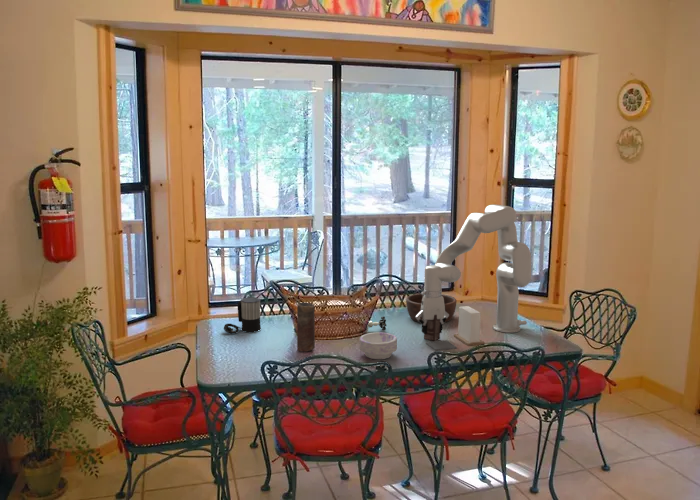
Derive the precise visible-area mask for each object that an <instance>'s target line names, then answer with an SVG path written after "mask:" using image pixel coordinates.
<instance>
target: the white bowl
mask: <svg viewBox="0 0 700 500" xmlns="http://www.w3.org/2000/svg"><path fill="white" fill-rule="evenodd" d="M397 349H398V338H397V336H396V335H395V334H392V333H387V332H381V331H379V332H367V333H365V334H363V335H361V336H360V337H359V350H360V351H361V352H363V353H364V355H365V356H366V357H367V358H368V359H371V360H386V359H389V358H391V356H392V354H393V353H395V352H396V351H397Z"/></svg>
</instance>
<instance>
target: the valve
mask: <svg viewBox="0 0 700 500" xmlns="http://www.w3.org/2000/svg"><path fill="white" fill-rule="evenodd" d="M386 321H387V319H386V317H385V316H381V318H380V320H379V321H372V320H368V322H369V323H368V325H367V331H369V328H372V327H373V326H375V327H376V326H379V327H380V328H381V330H382V331H386V330H387V328H386V327H387V322H386Z"/></svg>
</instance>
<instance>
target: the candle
mask: <svg viewBox="0 0 700 500" xmlns="http://www.w3.org/2000/svg"><path fill="white" fill-rule="evenodd" d="M296 306H297V307H296V308H297V314H296V315H297V317H296V319H297V326H296V327H297V328H296V329H297V333H296V335H297V338H296V339H297V341H296V342H297V343H296V345H297V346H296V347H297V351H298V352H305V353H306V352H311V351H314V349H315V347H316V344H315V343H316V342H315V341H316V340H315V339H316V338H315V337H316V335H315V328H316V327H315V326H316V324H315V320H316V319H315V304H313V303H309V302H306V301H305V302H298V303H297V305H296Z"/></svg>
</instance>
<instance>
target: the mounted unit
mask: <svg viewBox="0 0 700 500" xmlns="http://www.w3.org/2000/svg"><path fill="white" fill-rule="evenodd" d="M481 315H482V314H481V312H480V311H478V310H477V309H474V308H473V307H470V306H469V305H467V306H464V305H463V306H459V307H458V331H457V333H456V334H453V338H455V339H456V340H458V341H460V342H461V343H462V344H464V345H465V346H467V347H469V346H470V347H471V346H482V345H481V344H484V345H485V341H483V340H482V339H481V317H482V316H481Z"/></svg>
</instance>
